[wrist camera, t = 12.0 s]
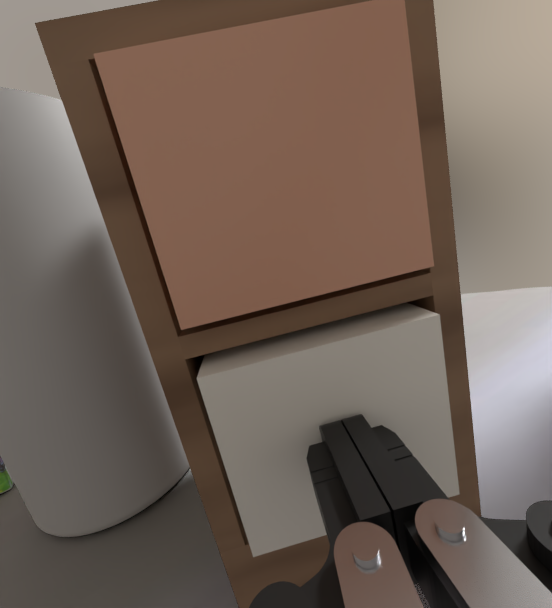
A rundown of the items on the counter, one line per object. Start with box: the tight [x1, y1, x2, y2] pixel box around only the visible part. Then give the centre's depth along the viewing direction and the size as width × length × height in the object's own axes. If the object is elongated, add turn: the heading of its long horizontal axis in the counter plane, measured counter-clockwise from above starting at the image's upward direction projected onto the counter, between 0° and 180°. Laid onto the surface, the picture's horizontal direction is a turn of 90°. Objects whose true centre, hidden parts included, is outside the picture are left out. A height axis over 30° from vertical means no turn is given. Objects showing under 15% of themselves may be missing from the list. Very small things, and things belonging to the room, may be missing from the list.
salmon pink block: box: [93, 0, 434, 330], centre depth 11 cm, size 6×8×7 cm
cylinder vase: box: [0, 87, 190, 537], centre depth 21 cm, size 12×12×25 cm
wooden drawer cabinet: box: [35, 0, 481, 608], centre depth 16 cm, size 11×11×22 cm
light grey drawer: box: [197, 302, 460, 557], centre depth 13 cm, size 6×8×7 cm
